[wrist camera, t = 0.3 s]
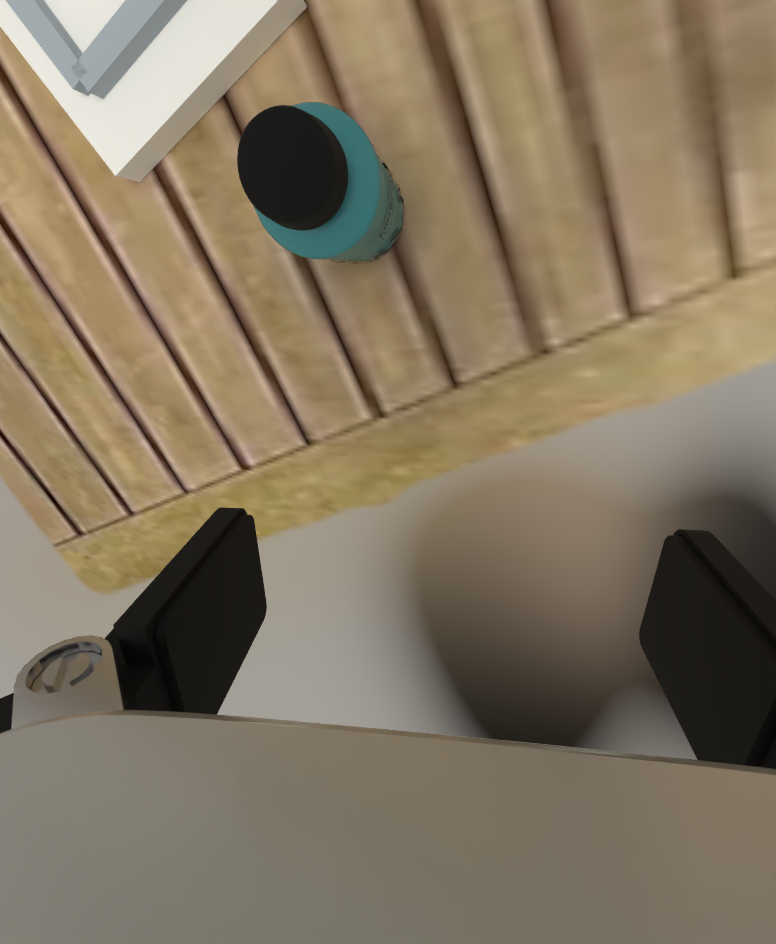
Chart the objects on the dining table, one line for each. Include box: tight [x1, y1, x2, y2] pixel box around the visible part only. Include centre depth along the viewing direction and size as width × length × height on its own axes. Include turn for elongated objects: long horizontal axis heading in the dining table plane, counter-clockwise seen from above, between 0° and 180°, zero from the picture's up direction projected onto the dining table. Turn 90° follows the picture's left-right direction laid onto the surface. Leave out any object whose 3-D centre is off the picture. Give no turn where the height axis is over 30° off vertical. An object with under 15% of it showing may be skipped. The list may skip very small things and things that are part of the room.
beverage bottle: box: [237, 102, 405, 263], centre depth 27 cm, size 6×7×20 cm
